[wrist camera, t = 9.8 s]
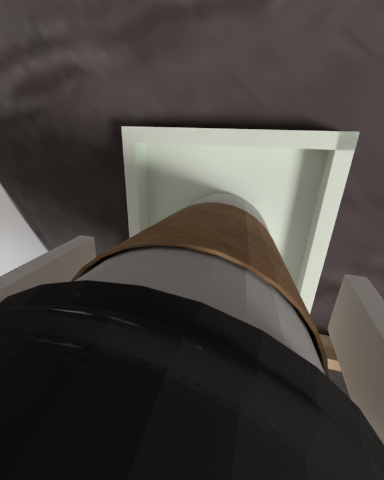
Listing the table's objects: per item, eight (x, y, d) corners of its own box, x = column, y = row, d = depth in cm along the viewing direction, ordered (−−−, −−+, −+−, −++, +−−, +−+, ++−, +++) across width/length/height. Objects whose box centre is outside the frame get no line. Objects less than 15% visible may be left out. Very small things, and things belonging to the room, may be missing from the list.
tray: (137, 127, 16) (121, 126, 14) (346, 133, 13) (359, 131, 11) (146, 296, 21) (134, 311, 19) (297, 327, 18) (300, 347, 16)
